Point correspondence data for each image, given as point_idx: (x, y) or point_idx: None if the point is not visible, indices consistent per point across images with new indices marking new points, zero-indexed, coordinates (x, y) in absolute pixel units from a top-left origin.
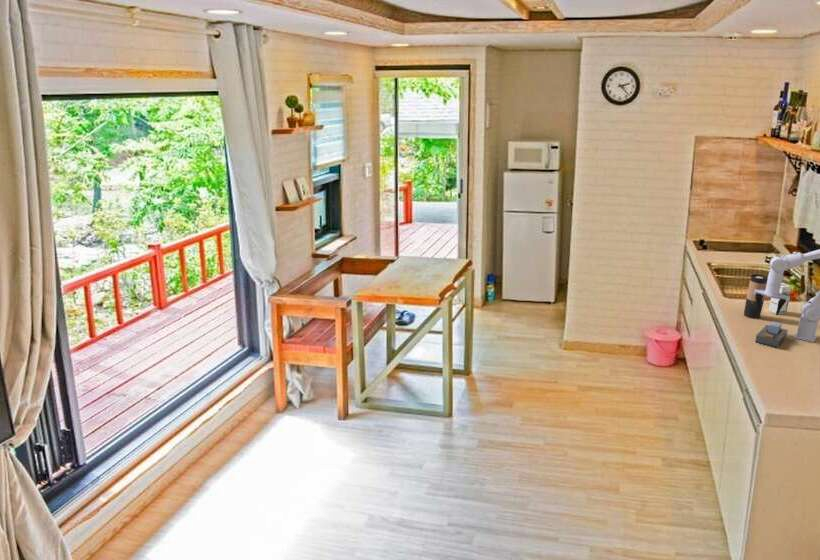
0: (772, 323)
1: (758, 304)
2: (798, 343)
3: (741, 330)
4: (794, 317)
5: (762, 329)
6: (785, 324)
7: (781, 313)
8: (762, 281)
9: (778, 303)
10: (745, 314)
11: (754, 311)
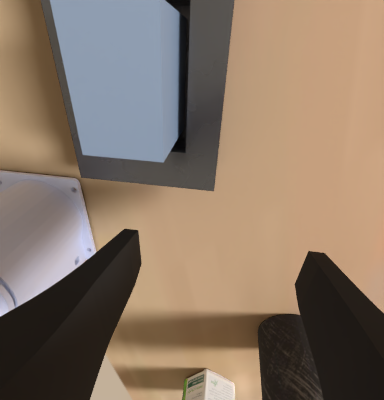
0: (142, 88)
1: (374, 320)
2: (23, 100)
3: (367, 98)
4: (158, 365)
5: (227, 39)
6: (162, 309)
7: (195, 376)
8: None
9: (14, 369)
10: None
11: (290, 346)
